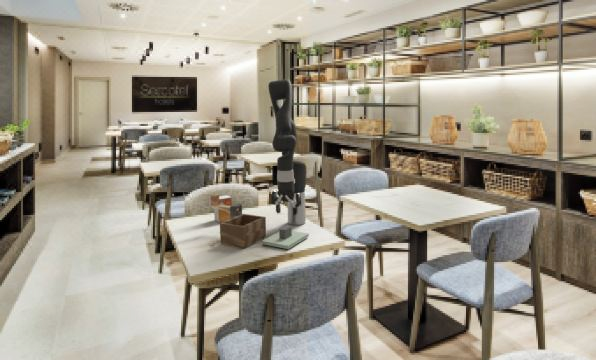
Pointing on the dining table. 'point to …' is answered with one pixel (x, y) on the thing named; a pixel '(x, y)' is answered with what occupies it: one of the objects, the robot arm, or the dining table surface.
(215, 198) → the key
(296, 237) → the lid
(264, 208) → the dining table surface
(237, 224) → the wooden box
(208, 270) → the dining table surface
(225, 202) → the small box
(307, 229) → the dining table surface
